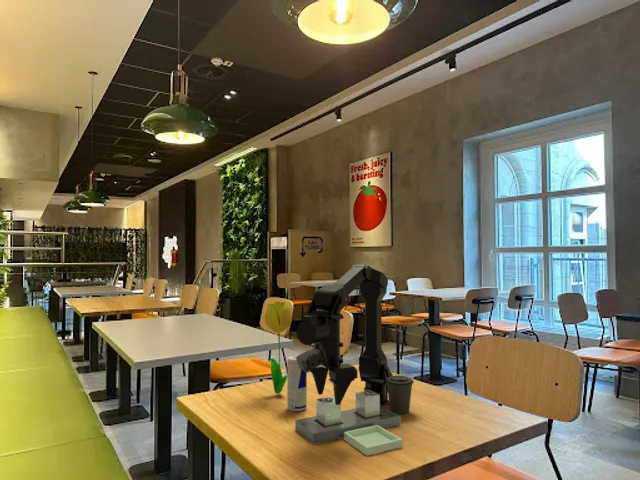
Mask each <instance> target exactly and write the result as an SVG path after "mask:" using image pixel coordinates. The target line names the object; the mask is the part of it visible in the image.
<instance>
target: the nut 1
mask: <svg viewBox="0 0 640 480" xmlns="http://www.w3.org/2000/svg"><path fill="white" fill-rule="evenodd" d="M315 409H316V411H315V412H316V414H315V416H316V422H317V423H318V424H319V425H321V426H322V427H324V428H325V427H330V426H335V425H340V424H341V411H342V403H341V404H340V405H336V404H335V396H327V397H321V398H316V408H315Z"/></svg>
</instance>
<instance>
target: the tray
mask: <svg viewBox="0 0 640 480" xmlns="http://www.w3.org/2000/svg"><path fill="white" fill-rule="evenodd" d="M343 441H346V442H347V443H348V444H349V445H351V446H352V447H354V448H355V449H357V450H358V451H359V452H360V453H362V454H364V455H365V456H366V457H367V456H372V455H375V454H381V453H384V452H388V451H392V450H396V449H400V448H403V438H401V437H399V436H397V435H395V434H394V433H392V432H391V431H389V430H387V429H386V428H385V429H384V428H382V427H380V426H379V425H375V426H370V427H366V428H361V429H356V430H352V431H347V432H344V438H343Z"/></svg>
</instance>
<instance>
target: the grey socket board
mask: <svg viewBox="0 0 640 480" xmlns="http://www.w3.org/2000/svg"><path fill="white" fill-rule="evenodd" d="M294 423H295V427H294V429H295V432H297V433H299V434H300V435H301V436H303V438H304V439H306V440H307V441H308V442H310V443H311V444H312V445H316V444H320V443H321V444H322V443H327V442H330V441H334V440H340V439H344V432H347V431H352V430H356V429H361V428H366V427H370V426H375V425H379V426H380V427H382V428H384V429H385V430H386V429H389V428H394V427H398V426H401V415H398V414H396V413H394V412H392V411H390V409H388V408H387V407H384V406H383V405H380V416H379V417H374V418H369V419H363V418H361V417H360V416H358V415H356V408H352V409H348V410H341V424H340V425H335V426H330V427H325V428H324V427H322V426H321V425H319V424H318V423H317V422H316V415H314V416H310V417H304V418H298V419H295V421H294Z"/></svg>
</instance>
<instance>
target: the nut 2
mask: <svg viewBox="0 0 640 480" xmlns="http://www.w3.org/2000/svg"><path fill="white" fill-rule="evenodd" d="M380 406H381V405H380V395H379V394H377V393H375V392H373V391H371V390H367V391H364V390H362V391H357V392H355V409H356V415H358V416H360V417H361V418H363V419H369V418H374V417H379V416H380Z"/></svg>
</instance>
